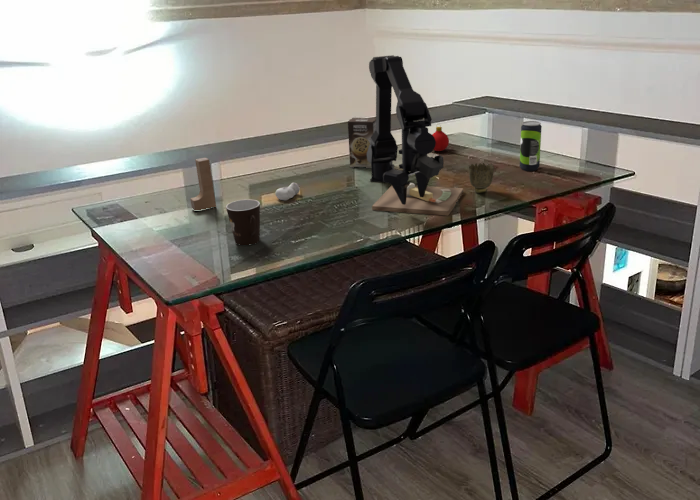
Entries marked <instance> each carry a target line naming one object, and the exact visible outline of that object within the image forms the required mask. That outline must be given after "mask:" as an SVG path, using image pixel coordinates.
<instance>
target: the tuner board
mask: <svg viewBox="0 0 700 500" xmlns="http://www.w3.org/2000/svg"><path fill="white" fill-rule="evenodd" d="M415 188H418V187H417V185H415ZM426 191H428V192H431V193H433V199H436V202H432V201H425V200H423V199H420V198H417V197H414V196H411V195H410V196H407V197H406V204H405V205H403V204H402V203H401V201H400V199H399V197H398V195H397V193H396V192H395V190H394V188H393V187H392V185H391V186H390V187H388V189H387V190H386V191H385V192H383V194H381V196H380V197H379V198H378V199H377V200H376V201H375V202H374V203H373V204H372V206H371V210H372V211H378V212H379V211H382V212H395V213H408V214H409V213H410V214H421V215H422V214H424V215H436V216H437V215H439V216H449V215H450V213H451V212H452V211H453V209H454V208H455V206H456V204H457V203H458V202H459V200H460V198H461V197H462V195H463V194H462V193H464V188H461V187H446V186H445V187H444V186H428V185H427V188H426ZM461 194H462V195H461ZM460 196H461V197H460ZM458 199H459V200H458ZM456 202H457V203H456Z"/></svg>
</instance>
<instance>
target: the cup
mask: <svg viewBox="0 0 700 500" xmlns="http://www.w3.org/2000/svg"><path fill="white" fill-rule="evenodd" d="M494 169H495V167H494V165H493V164H489V163H486V164H485V163H484V162H483V163H482V162H479V164H478V162H477V163H475V164H473V163H471V164H470V165H468V177H469V183H470V185H471V186H472V187H473V188H474V192H475V194H486V193H487V191H488V188H489V187H490V186H491V184H492V182H493V178H494V171H495V170H494Z"/></svg>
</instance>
